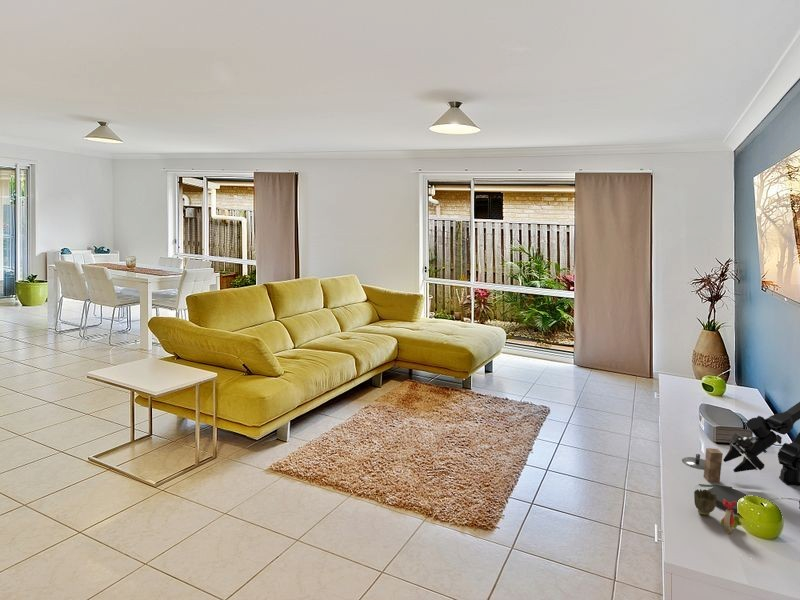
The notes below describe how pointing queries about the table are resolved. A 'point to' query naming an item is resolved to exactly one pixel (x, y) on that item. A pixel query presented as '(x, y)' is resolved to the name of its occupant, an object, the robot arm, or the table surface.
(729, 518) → the bird rattle
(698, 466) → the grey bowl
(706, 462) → the walnut block
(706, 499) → the cup
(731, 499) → the media streaming box
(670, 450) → the table surface
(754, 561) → the table surface
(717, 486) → the rubber mat
